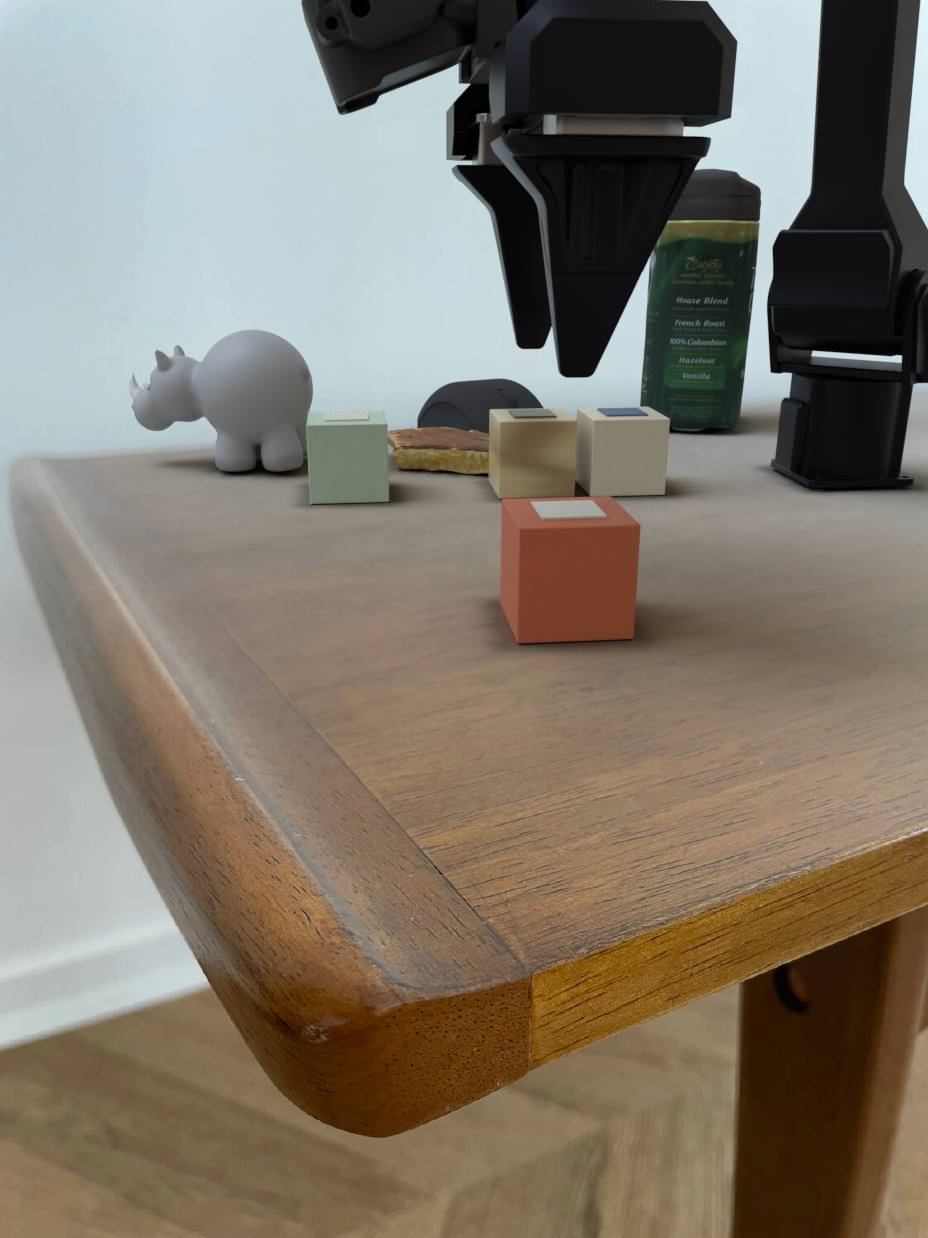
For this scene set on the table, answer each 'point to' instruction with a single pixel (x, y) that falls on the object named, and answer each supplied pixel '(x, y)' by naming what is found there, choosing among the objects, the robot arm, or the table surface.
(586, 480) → the row block
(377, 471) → the row block
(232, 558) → the table surface
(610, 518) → the orange cube
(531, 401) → the computer mouse
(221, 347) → the toy rhinoceros
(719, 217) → the coffee jar
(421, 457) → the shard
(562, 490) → the row block
